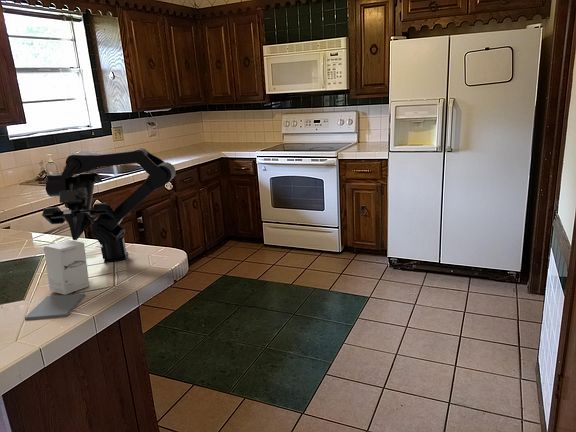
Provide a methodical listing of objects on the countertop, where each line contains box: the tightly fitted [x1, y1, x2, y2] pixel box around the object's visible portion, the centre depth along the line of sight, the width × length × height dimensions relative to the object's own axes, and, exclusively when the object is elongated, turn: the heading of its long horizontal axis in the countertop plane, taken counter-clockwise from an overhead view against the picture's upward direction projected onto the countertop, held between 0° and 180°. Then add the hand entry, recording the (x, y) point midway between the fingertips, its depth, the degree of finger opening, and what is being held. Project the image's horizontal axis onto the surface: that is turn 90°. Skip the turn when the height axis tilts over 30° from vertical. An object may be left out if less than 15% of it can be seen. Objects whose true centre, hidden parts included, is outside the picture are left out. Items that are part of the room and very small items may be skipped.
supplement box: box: [43, 239, 90, 295], centre depth 119 cm, size 7×7×13 cm
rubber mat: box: [24, 292, 86, 321], centre depth 110 cm, size 11×10×1 cm
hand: (74, 239), depth 125 cm, fingers closed
